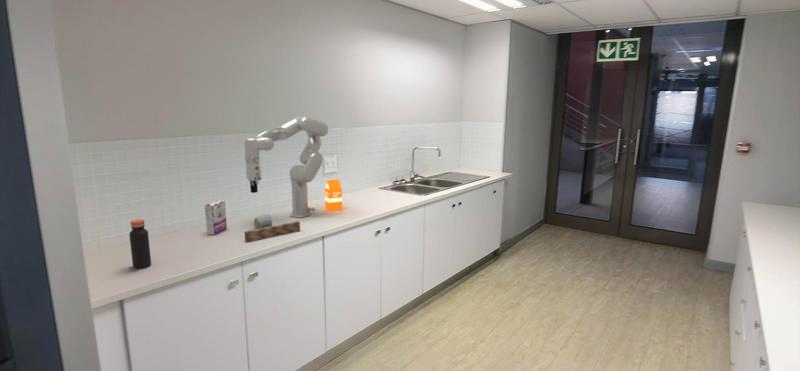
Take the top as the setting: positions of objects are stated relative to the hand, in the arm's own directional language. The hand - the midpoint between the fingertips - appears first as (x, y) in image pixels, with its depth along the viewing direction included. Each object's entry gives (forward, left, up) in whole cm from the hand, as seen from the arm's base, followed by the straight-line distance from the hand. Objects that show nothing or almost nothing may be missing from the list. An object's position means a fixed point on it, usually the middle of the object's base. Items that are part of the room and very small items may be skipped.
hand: (254, 192), depth 245 cm
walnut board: (+2, +26, -19) cm, 32 cm away
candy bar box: (+22, 0, -19) cm, 29 cm away
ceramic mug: (0, +12, -19) cm, 23 cm away
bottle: (+64, +29, -19) cm, 73 cm away
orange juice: (-54, -1, -19) cm, 57 cm away
